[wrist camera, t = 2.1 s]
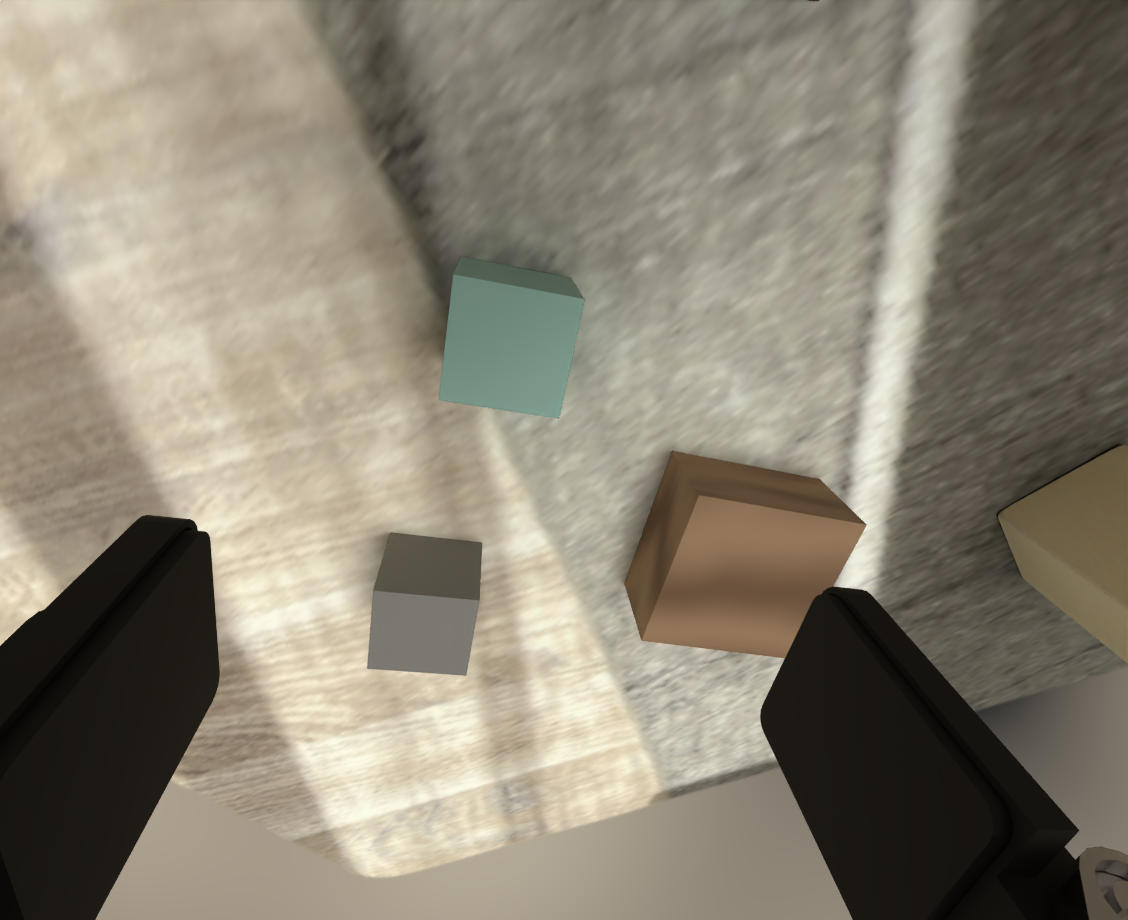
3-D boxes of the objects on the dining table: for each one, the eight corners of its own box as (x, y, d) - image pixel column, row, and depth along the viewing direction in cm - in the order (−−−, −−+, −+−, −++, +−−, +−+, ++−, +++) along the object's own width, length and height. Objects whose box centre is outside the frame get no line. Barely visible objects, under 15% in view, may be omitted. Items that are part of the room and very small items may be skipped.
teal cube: (461, 256, 26) (453, 274, 21) (570, 277, 27) (584, 299, 22) (448, 363, 28) (438, 400, 24) (550, 379, 29) (559, 418, 24)
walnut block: (670, 449, 31) (699, 495, 27) (817, 477, 33) (866, 524, 29) (623, 581, 35) (641, 640, 31) (757, 600, 37) (793, 659, 32)
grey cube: (390, 531, 32) (373, 590, 27) (482, 541, 33) (479, 600, 28) (384, 603, 34) (367, 668, 29) (470, 610, 35) (466, 675, 30)
